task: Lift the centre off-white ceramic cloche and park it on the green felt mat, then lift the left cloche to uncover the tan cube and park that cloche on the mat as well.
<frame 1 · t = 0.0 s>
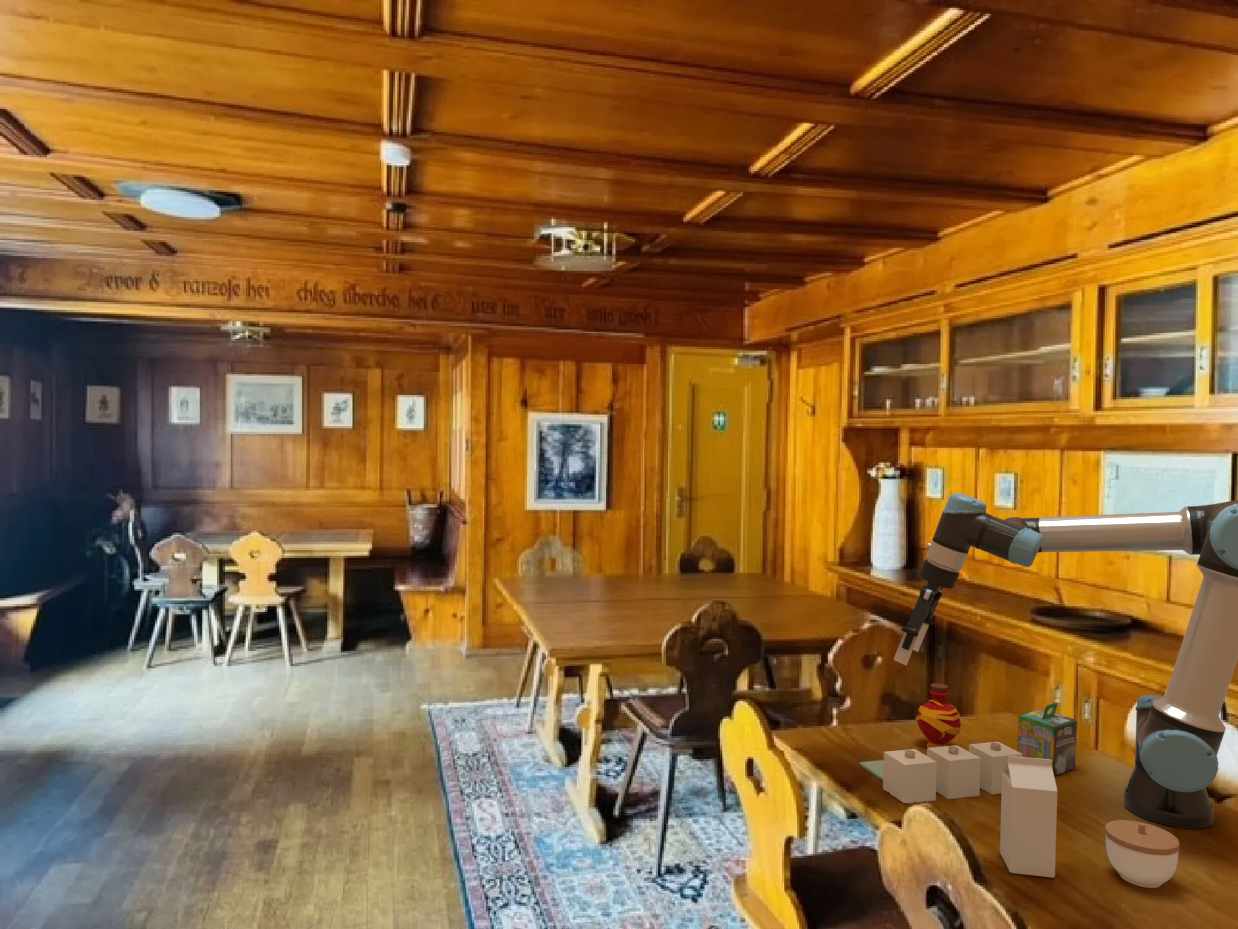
hand: (906, 655, 180), 28 cm above the table, tool tilted 20°, fingers open, 13 cm apart
felt mat: (921, 770, 188), on the table
tan cube: (909, 795, 175), on the table
chalk box: (1045, 767, 192), on the table
cloche right: (994, 786, 180), on the table
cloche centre: (952, 790, 177), on the table
lidded jar: (1140, 880, 142), on the table
cloche left: (909, 794, 175), on the table
potion bottle: (938, 748, 203), on the table
milk carton: (1026, 867, 145), on the table
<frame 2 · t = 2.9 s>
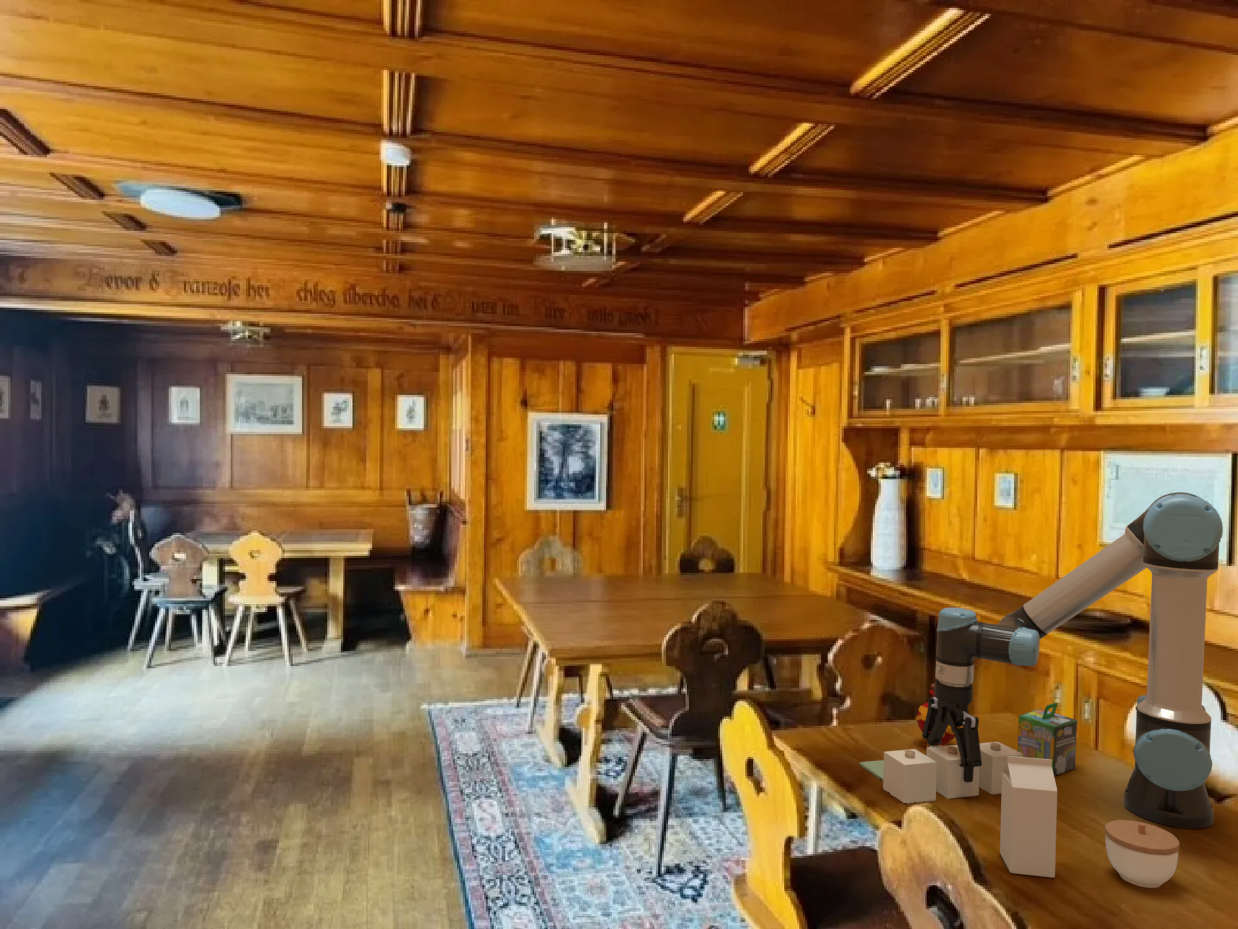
hand: (949, 785, 178), 1 cm above the table, tool pointing down, fingers open, 9 cm apart
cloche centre: (951, 789, 178), on the table, touching gripper
everything else where it was.
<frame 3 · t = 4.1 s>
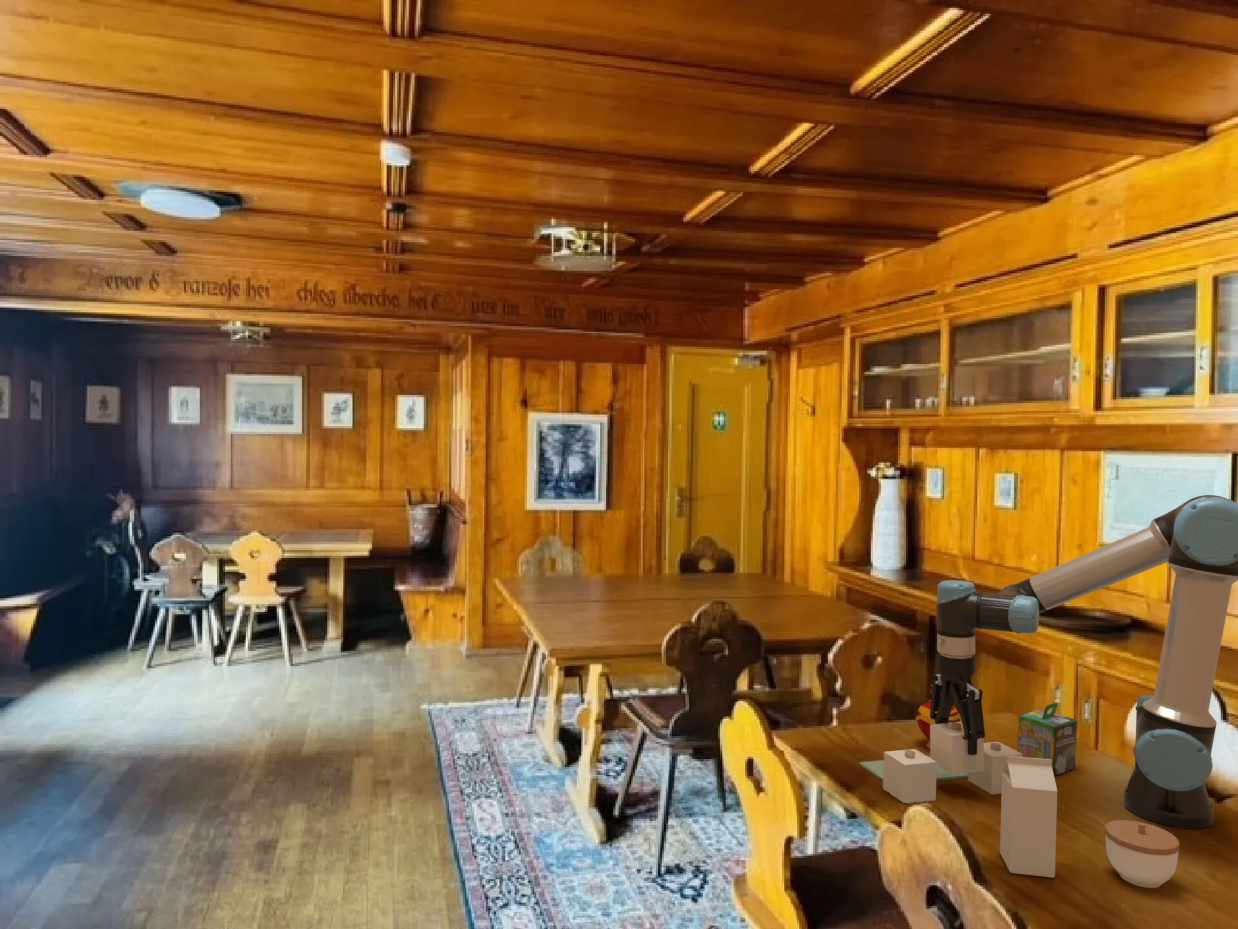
hand: (956, 762, 177), 6 cm above the table, tool pointing down, fingers closed on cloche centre, 7 cm apart
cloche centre: (956, 766, 177), point 5 cm above the table, touching gripper
everything else where it was.
when the fingers open (1 cm above the table, at t = 8.4 s): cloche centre stays where it is, resting on felt mat.
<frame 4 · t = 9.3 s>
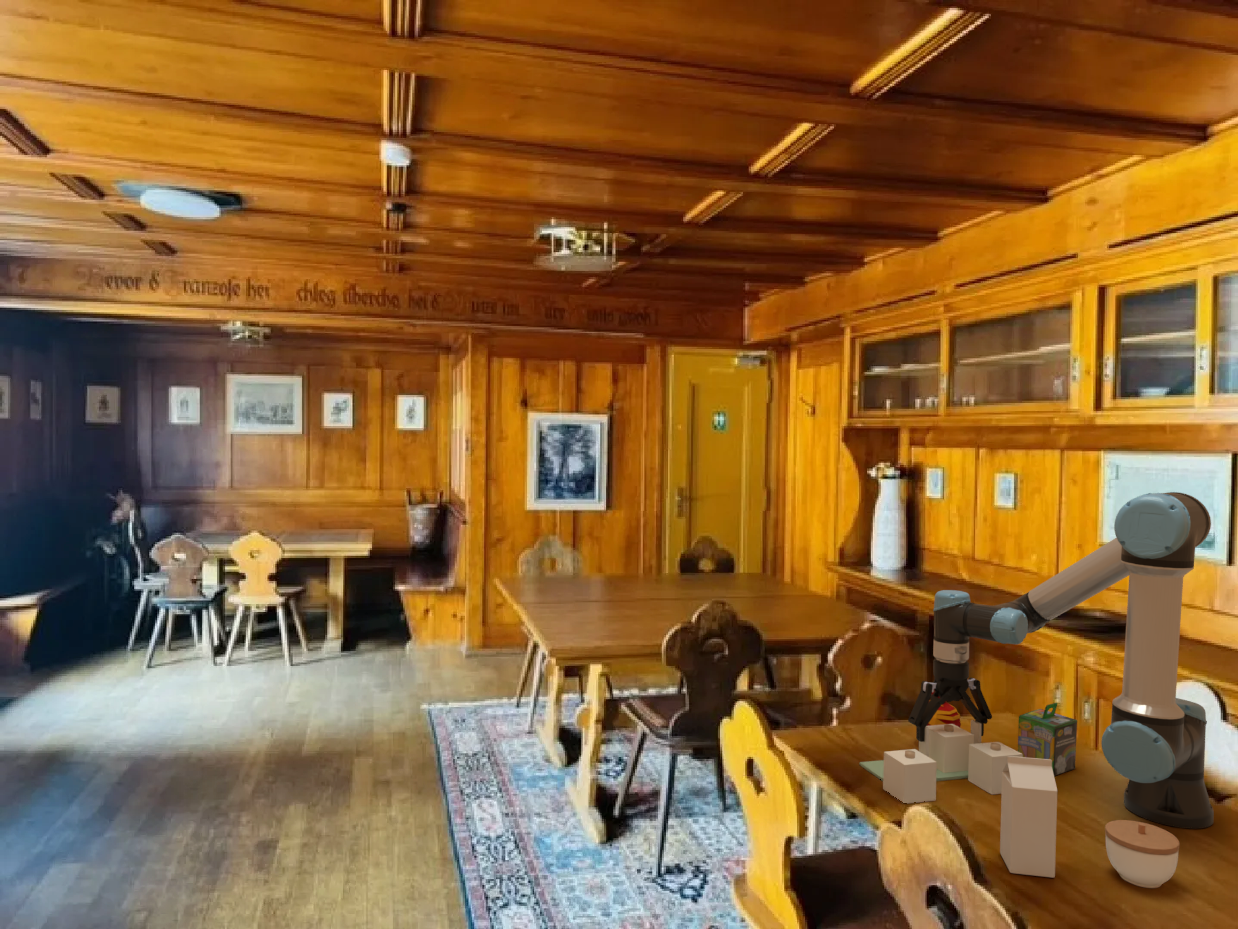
hand: (950, 753, 189), 4 cm above the table, tool pointing down, fingers open, 13 cm apart
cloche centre: (947, 765, 190), point 1 cm above the table, touching felt mat
everything else where it was.
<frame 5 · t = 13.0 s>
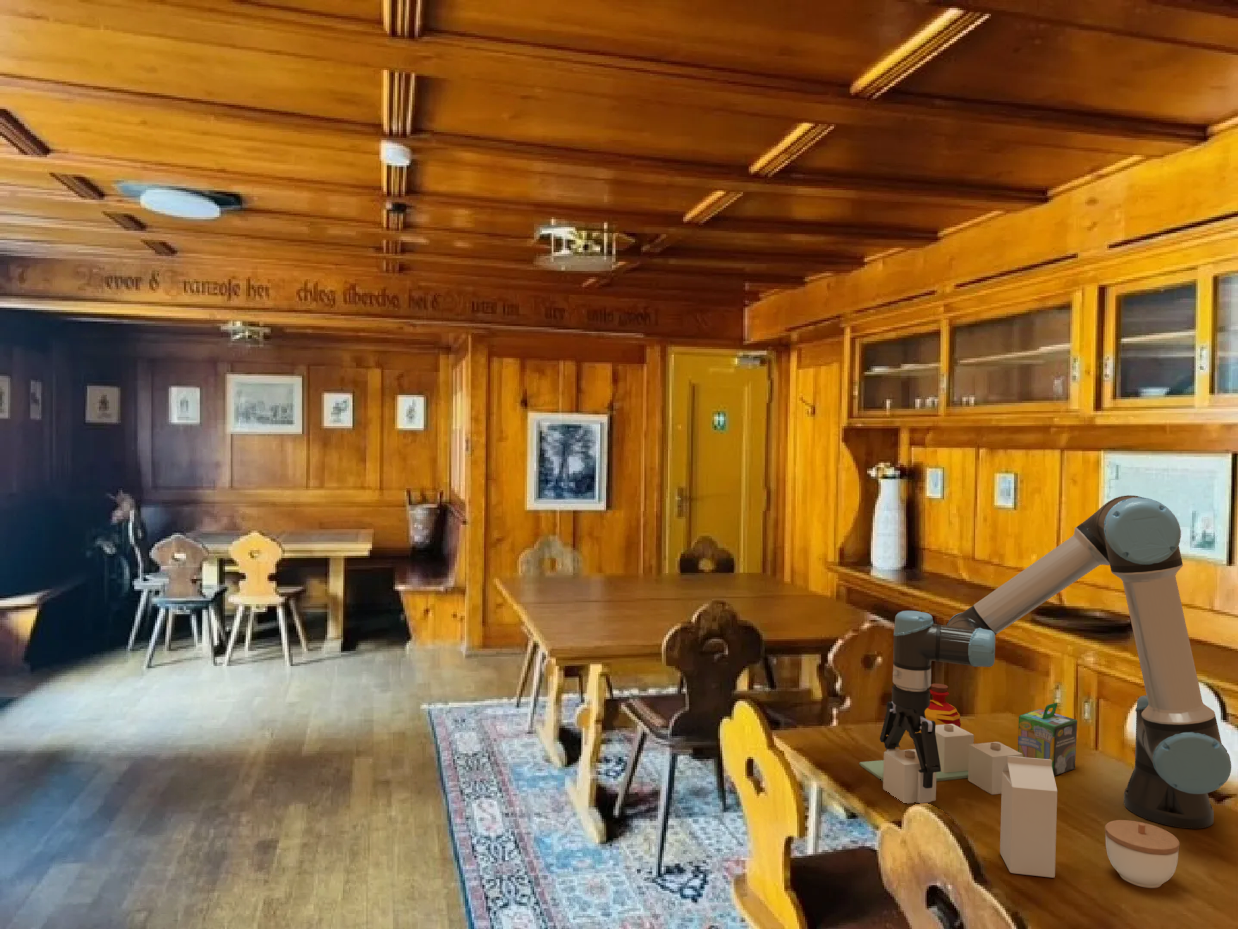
hand: (907, 790, 175), 1 cm above the table, tool pointing down, fingers open, 11 cm apart
nothing on the table moved.
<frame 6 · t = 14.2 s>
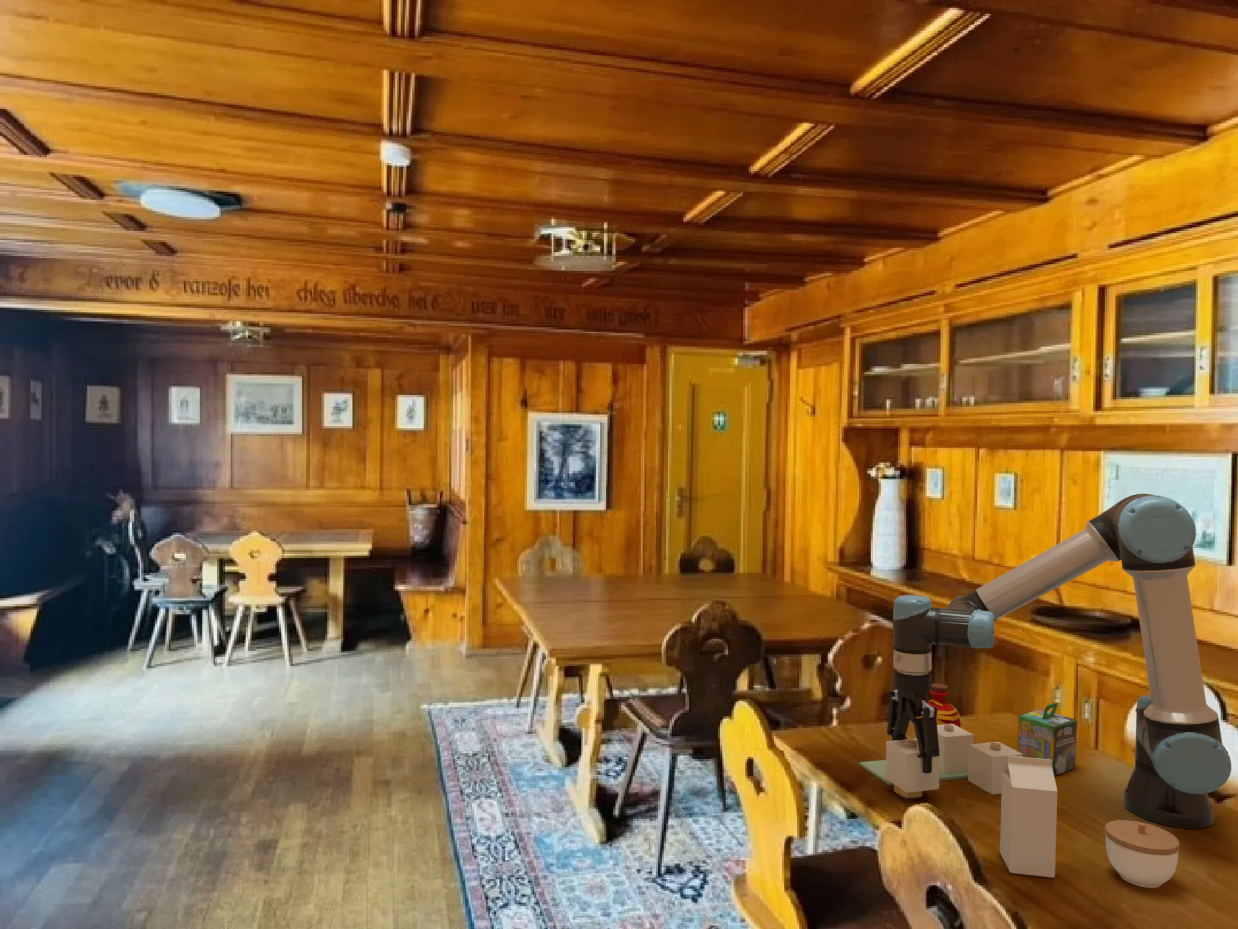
hand: (912, 779, 174), 3 cm above the table, tool pointing down, fingers closed on cloche left, 7 cm apart
cloche left: (912, 783, 175), point 2 cm above the table, touching gripper
everything else where it was.
when the fingers open (1 cm above the table, at t = 19.0 s): cloche left stays where it is, resting on felt mat.
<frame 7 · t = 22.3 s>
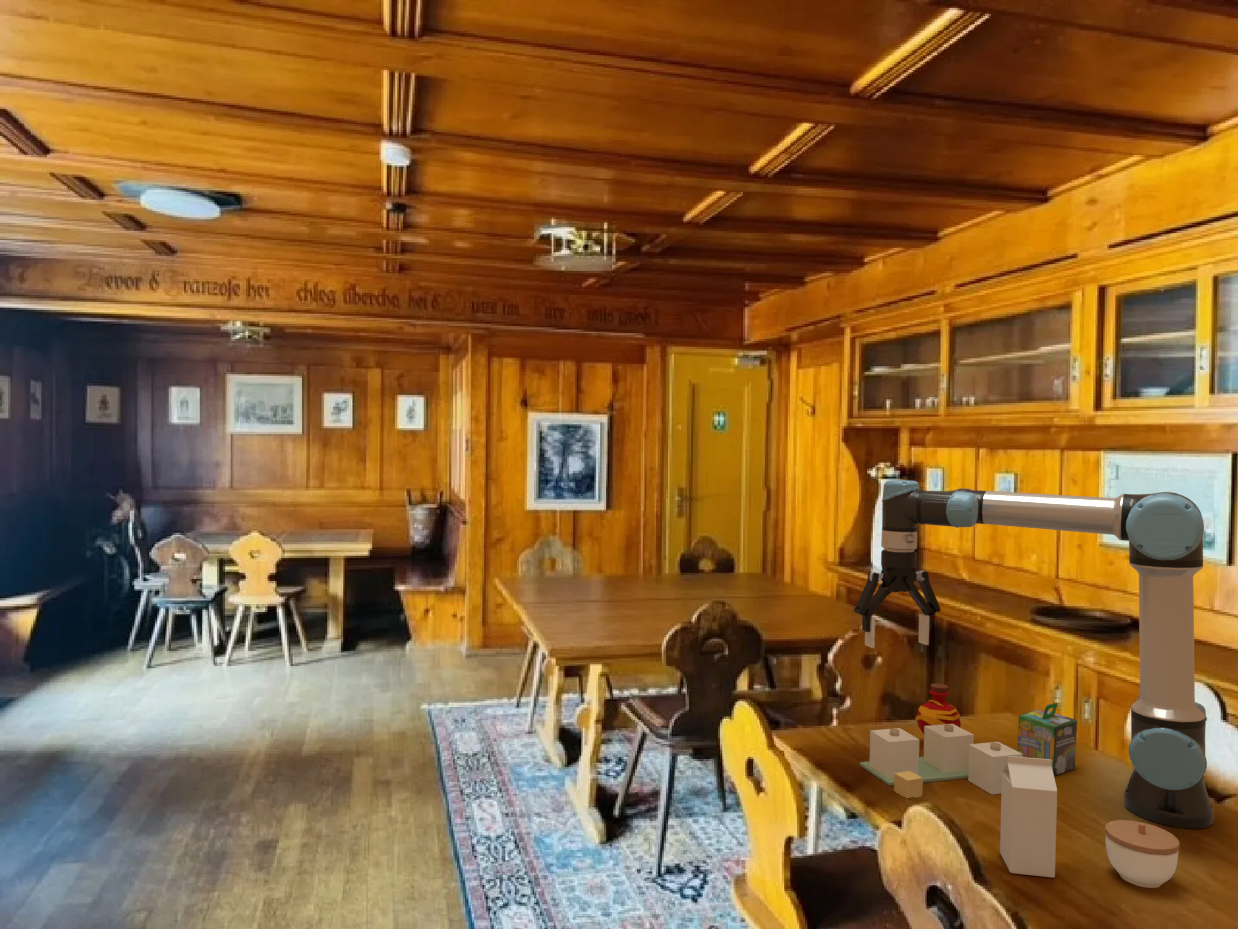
hand: (896, 645, 186), 29 cm above the table, tool pointing down, fingers open, 13 cm apart
cloche left: (893, 770, 186), point 1 cm above the table, touching felt mat
everything else where it was.
at the end: cloche left inside the target area (0.0 cm from its centre), point 0.6 cm above the table; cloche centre inside the target area (0.1 cm from its centre), point 0.6 cm above the table; cloche left tilted 0° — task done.
